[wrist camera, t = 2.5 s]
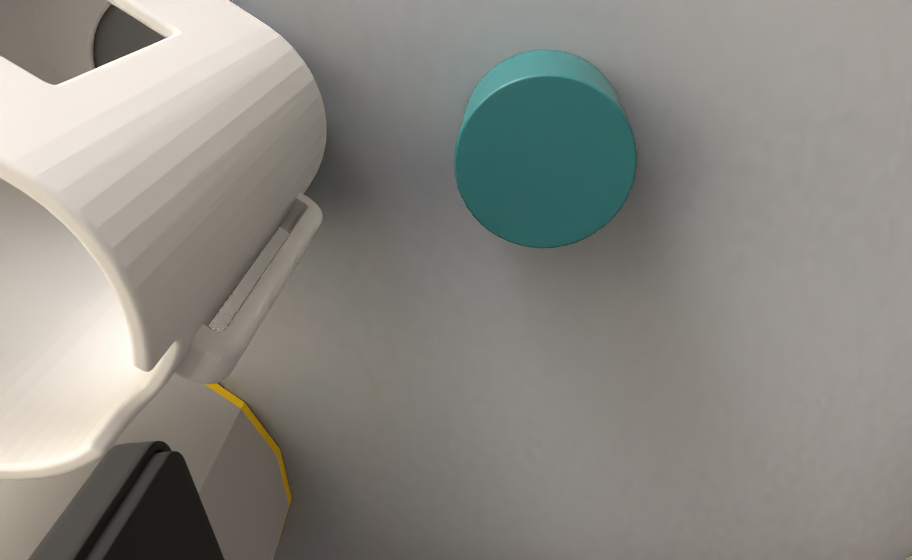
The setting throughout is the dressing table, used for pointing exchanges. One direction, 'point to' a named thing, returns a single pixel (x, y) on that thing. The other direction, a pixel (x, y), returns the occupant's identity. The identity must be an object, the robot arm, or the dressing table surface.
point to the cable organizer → (138, 211)
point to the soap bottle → (208, 459)
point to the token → (544, 150)
